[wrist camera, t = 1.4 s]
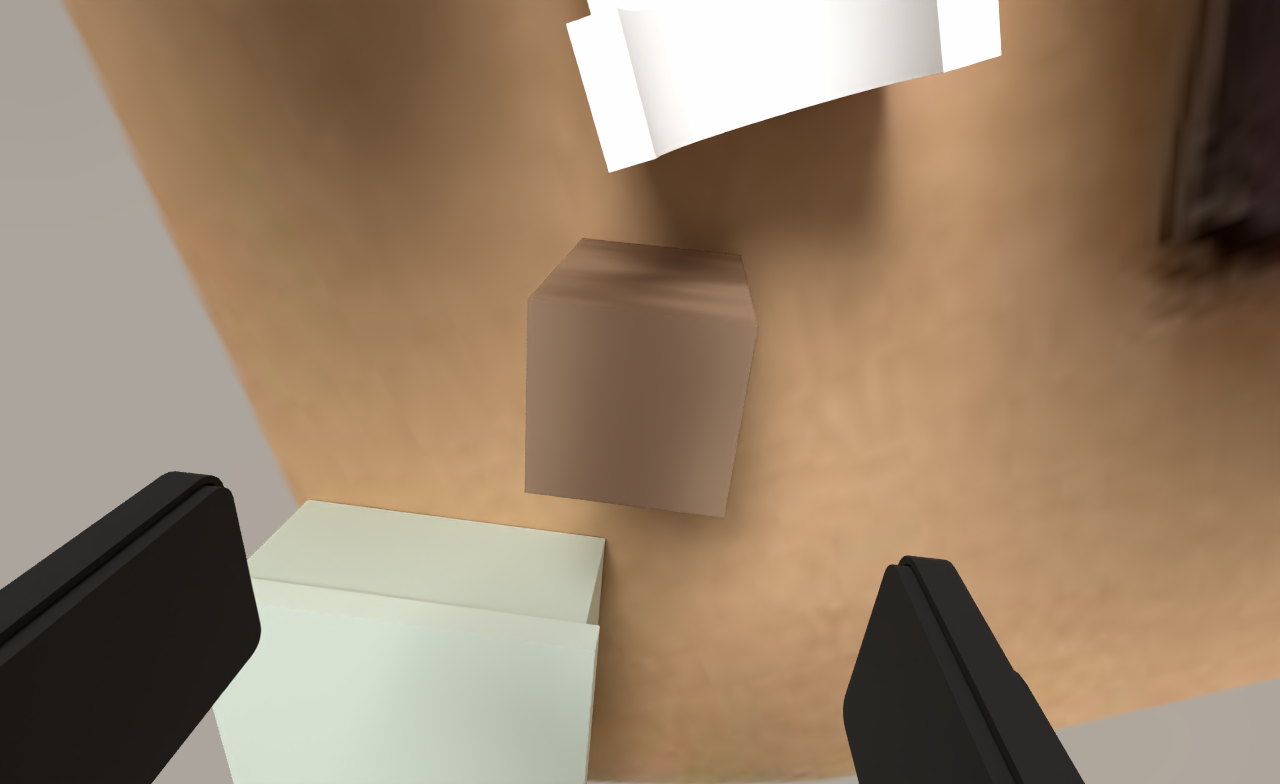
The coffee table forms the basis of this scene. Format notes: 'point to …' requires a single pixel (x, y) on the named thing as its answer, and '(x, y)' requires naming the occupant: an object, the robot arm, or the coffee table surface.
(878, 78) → the bracket
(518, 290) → the coffee table surface
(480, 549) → the sage box
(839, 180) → the coffee table surface
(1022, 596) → the coffee table surface
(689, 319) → the walnut block
